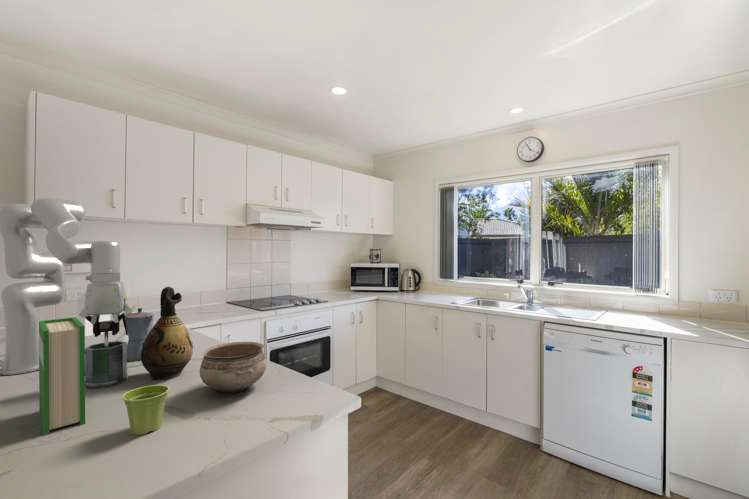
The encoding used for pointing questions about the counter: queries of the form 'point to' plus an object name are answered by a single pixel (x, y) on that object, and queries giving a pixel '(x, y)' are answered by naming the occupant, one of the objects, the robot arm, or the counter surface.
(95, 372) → the carafe
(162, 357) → the ceramic jug
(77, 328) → the hardback book
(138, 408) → the plant pot
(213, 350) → the cooking pot
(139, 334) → the moka pot
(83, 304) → the milk
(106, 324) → the dark grey stemmed piece
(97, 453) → the counter surface
